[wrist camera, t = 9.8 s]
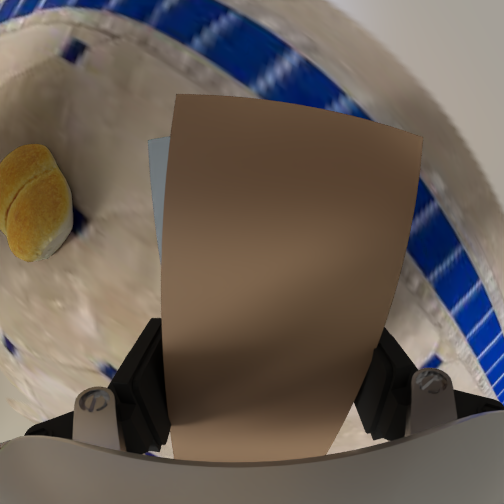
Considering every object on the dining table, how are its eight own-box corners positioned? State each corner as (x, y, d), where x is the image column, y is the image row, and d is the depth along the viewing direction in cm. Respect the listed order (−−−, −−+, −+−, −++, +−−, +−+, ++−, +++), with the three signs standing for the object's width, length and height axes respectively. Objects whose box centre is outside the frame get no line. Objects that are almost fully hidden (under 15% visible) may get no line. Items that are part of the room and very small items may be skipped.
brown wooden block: (204, 122, 9) (176, 94, 5) (366, 146, 10) (423, 137, 6) (190, 435, 14) (179, 489, 10) (292, 443, 14) (298, 497, 10)
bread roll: (42, 125, 16) (9, 121, 12) (93, 210, 18) (61, 220, 14) (-3, 194, 17) (-33, 201, 13) (41, 273, 19) (12, 290, 15)
